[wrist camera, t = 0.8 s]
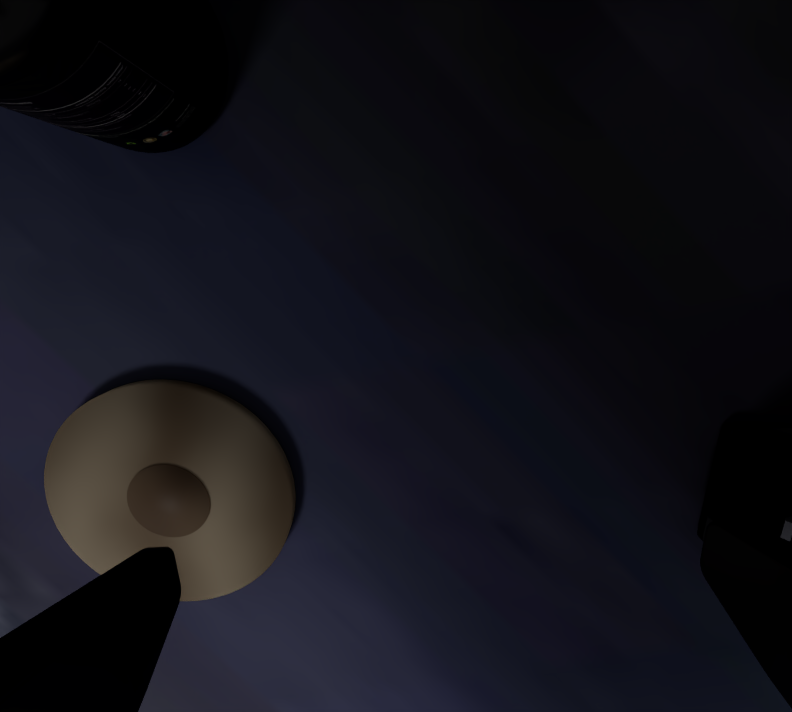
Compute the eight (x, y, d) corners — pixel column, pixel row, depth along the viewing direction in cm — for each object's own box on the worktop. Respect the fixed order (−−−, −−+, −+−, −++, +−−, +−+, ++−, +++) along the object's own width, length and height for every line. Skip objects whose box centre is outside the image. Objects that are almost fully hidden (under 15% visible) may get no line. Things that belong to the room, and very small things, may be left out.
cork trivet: (290, 381, 19) (285, 387, 19) (300, 590, 22) (296, 604, 22) (35, 377, 19) (18, 383, 19) (80, 587, 22) (67, 601, 22)
